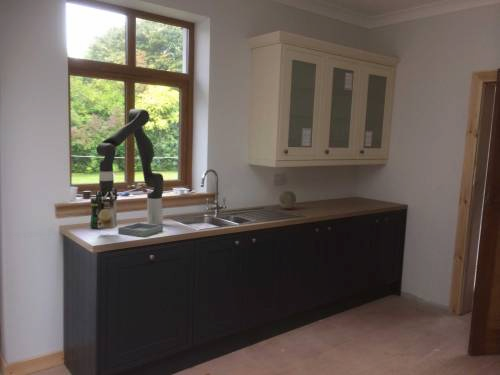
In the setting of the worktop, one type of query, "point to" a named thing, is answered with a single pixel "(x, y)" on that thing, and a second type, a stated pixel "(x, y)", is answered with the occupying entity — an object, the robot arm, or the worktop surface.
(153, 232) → the tray
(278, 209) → the worktop surface
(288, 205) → the cantaloupe
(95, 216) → the coffee jar
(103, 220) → the coffee box
